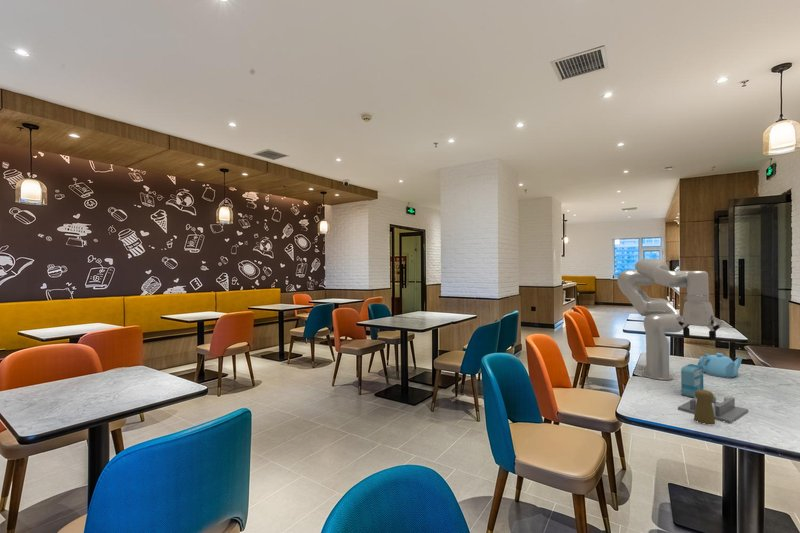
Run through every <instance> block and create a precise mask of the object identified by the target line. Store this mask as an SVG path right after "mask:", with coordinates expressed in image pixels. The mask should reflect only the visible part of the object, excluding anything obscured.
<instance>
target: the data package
mask: <svg viewBox="0 0 800 533" xmlns="http://www.w3.org/2000/svg"><path fill="white" fill-rule="evenodd" d="M680 383H681V384H680V385H681V386H680V388H681V389H680V390H681V391H680V392H681V395H682V396H687V397H692V398H695V391H696V390H704V371H703V366H700V365H698V364H694V363H689V364H686V365H685V366H682V367H681V369H680Z"/></svg>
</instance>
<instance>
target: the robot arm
mask: <svg viewBox="0 0 800 533" xmlns="http://www.w3.org/2000/svg"><path fill="white" fill-rule="evenodd" d="M616 282H617V286H618V288H619V290H620V291H621V292H622V294H623V295H624V296H626V298H627V299H628V300H629V302H630V303H631V305H632V306H633V308H634V309H635V310H636V311H637V313H638V314H639V315H640V316H641V317H644V318H643V327H644V332H645V352H646V354H645V355H646V356H645V358H646V359H645V361H646V364H645V365H641V364H638V366H637V368H638V370H641V371H643V372H642V375H643V376H644V377H645V378H649V379H653V380H658V381H659V380H660V381H672V380H673V379H674V376H673V374H670V342H669V340H668V338H667V335H666V333H670V334H671V333H679V332H682V335H683V338H690V337H691V336H690V335H691V334H690V328H689V327H690V326H698V327H699V326H700V327H707V328H708V329H709V330H708V341H715V340H716V339H717V331H718V330H719V329H721V326H722V325H723V323H724V321H723V320H721V319H719V318H717V317H716V316H715V315H714V310H713V305H712V303H711V302H710V290H709V289H710V288H709V286H710V285H709V273H708V272H707V271H705V270H670V267H669V266H668V263H667V262H666V260H663V259H661V258H644V259H640V260H638V261H636V263H635V265H634V269H628V270H623V271H620V273H619V274H618V275H617V281H616ZM653 283H656V284H657V285H661V286H662V287H663V286H664V287H667V288H686V295H684V296H683V299H684V300H686V301H685V302H684V305H683V309H682V310H683V311H682V312H683V313H682V315H680V313H679V312H678V310H677V309H675V307H674V306H673V305H672V303H671V302H670V301H669V300H667V299H664V298H658V297H656V298H654V297H650V296H649V295H648V294H647V293H646V292H645V291H644V290H643V289H642V288H640V287H639V286H650V285H652V284H653ZM715 323H716V324H715Z"/></svg>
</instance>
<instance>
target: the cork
mask: <svg viewBox="0 0 800 533" xmlns="http://www.w3.org/2000/svg"><path fill="white" fill-rule="evenodd" d="M711 392H712V391H709V390H706V389H703V390H696V391H695V397H696V398H697V402H696V408H695V414H694V415H693V420H694V421H695V420H696V421H698V422H697V423H699V422H701V423H700V424H702V423H705V424H704V425H708V424H714V425H715V424H716V420H715V419H714V413H713V407H712V400H713V394H712V393H711ZM695 397H694V398H695ZM696 421H695V422H696Z"/></svg>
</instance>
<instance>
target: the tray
mask: <svg viewBox="0 0 800 533" xmlns="http://www.w3.org/2000/svg"><path fill="white" fill-rule="evenodd" d="M710 392H711V393H712V394H713V400H712V407H713V413H714V419H716V420H715V421H719V420H720V421H719V422H723V421H725V422H724V423H726V422H728V423H727V424H730V423H731V424H732V423H734V422H736V419H737V420H738V419H740V418H742V417H743V416H744V415H746V414H747V413H749V409H748V408H745V407H740V406H736V403H735V399H736V398H735V397H729V396H730V395H728V394H723V401H722V402H718V401H717V393H716V392H715V391H710ZM696 402H697V398H696V397H692V398H691V399H690V400H689V401H687V402H684V403H683V404H681V405H679V406H677V410H678V411H682V412H686V413H689V414H692V415H693V414H694V415H695V408H696ZM739 417H740V418H739ZM733 421H734V422H733Z"/></svg>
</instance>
